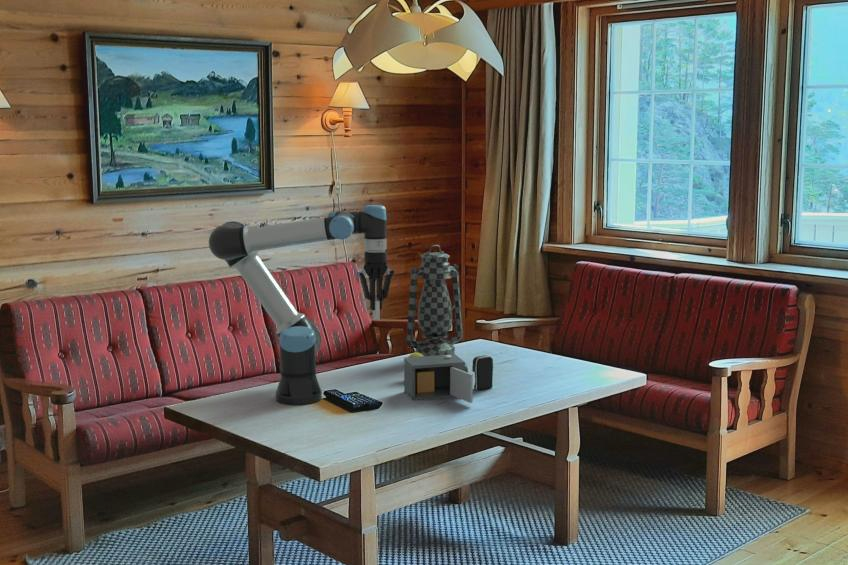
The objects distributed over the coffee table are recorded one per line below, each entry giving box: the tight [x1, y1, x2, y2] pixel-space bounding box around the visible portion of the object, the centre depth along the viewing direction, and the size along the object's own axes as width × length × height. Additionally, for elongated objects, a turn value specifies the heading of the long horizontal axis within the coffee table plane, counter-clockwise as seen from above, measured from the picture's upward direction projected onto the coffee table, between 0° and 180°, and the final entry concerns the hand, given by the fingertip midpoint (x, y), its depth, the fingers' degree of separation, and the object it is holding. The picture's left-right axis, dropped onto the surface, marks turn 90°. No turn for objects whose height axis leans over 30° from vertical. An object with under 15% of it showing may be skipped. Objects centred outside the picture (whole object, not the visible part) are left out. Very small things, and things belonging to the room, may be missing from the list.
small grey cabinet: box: [403, 353, 469, 402], centre depth 343 cm, size 20×12×13 cm, turn 105°
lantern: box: [406, 244, 464, 356], centre depth 387 cm, size 24×18×45 cm
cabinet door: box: [450, 367, 474, 404], centre depth 334 cm, size 12×1×9 cm, turn 32°
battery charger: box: [471, 354, 494, 391], centre depth 351 cm, size 7×4×11 cm, turn 125°
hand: (376, 319), depth 348 cm, fingers closed
